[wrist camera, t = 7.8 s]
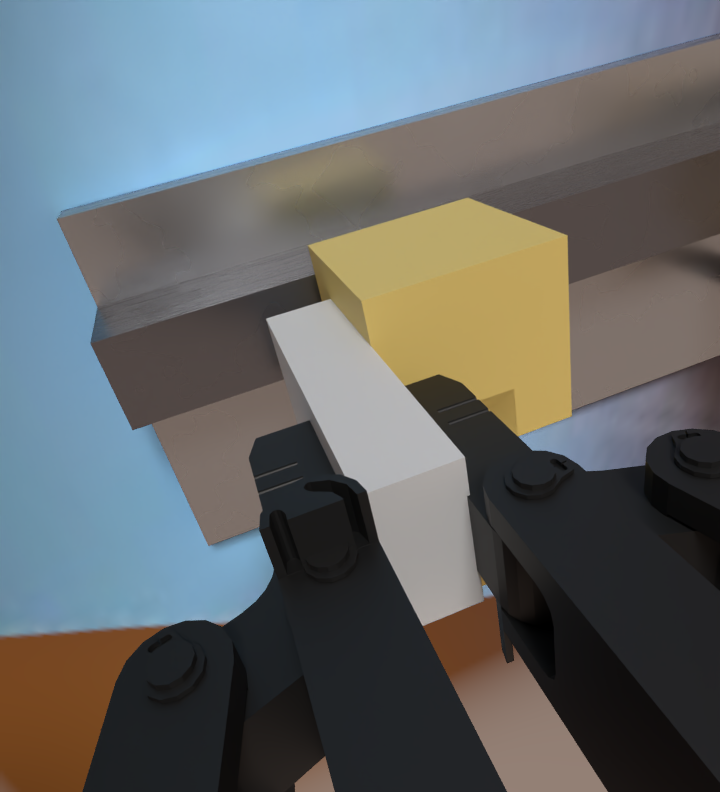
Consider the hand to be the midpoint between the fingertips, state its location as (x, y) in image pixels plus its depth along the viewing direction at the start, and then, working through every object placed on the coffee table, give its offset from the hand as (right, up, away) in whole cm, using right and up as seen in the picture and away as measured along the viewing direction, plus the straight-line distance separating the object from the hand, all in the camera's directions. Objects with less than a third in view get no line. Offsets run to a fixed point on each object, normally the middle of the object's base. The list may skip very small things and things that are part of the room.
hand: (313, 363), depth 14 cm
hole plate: (+6, +3, +6) cm, 9 cm away
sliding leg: (+2, +1, +4) cm, 5 cm away
